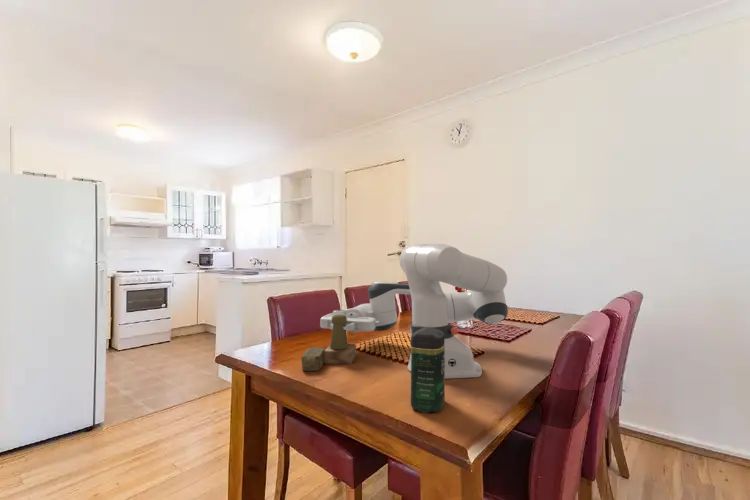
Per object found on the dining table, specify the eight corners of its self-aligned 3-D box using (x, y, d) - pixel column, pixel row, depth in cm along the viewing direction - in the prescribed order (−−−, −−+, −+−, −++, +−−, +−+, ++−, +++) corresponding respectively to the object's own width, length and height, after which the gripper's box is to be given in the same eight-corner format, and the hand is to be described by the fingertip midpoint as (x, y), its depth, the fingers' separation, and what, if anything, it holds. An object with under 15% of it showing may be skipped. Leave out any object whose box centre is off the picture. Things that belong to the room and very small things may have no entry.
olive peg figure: (351, 346, 128) (351, 314, 128) (341, 350, 123) (341, 316, 123) (336, 344, 131) (337, 312, 131) (326, 347, 125) (326, 315, 126)
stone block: (300, 372, 115) (300, 356, 115) (308, 360, 126) (308, 346, 126) (319, 372, 115) (319, 356, 115) (325, 360, 126) (325, 346, 126)
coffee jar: (441, 416, 85) (440, 335, 84) (407, 411, 87) (406, 332, 87) (447, 399, 94) (447, 325, 93) (417, 395, 96) (416, 323, 96)
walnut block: (355, 355, 131) (355, 344, 131) (351, 363, 122) (351, 351, 122) (330, 354, 132) (330, 343, 132) (324, 363, 123) (324, 351, 123)
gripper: (381, 330, 135) (367, 339, 122) (331, 326, 142) (312, 335, 129) (381, 312, 135) (367, 320, 122) (330, 310, 142) (312, 317, 129)
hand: (338, 328), depth 126 cm, fingers closed on olive peg figure, 3 cm apart
